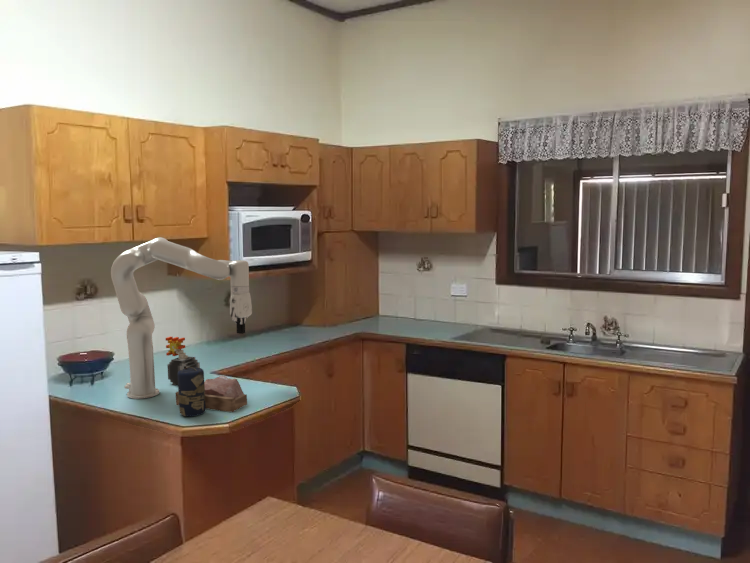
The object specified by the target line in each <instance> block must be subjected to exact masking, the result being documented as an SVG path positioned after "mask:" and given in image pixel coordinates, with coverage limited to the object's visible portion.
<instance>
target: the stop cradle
mask: <svg viewBox="0 0 750 563" xmlns="http://www.w3.org/2000/svg"><path fill="white" fill-rule="evenodd" d="M175 405H176V406H179V397H178V391H176V392H175ZM247 405H248V394H245V393H244V394H243V395H241V396H239V397H237V398H233V397H224V396H215V395H207V394H205V407H206V410H211V409H212V410H214V411H219V410H220V412H229V413H234V412H235V411H238V410H239V409H241V408H244V407H245V406H247Z"/></svg>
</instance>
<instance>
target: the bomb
mask: <svg viewBox="0 0 750 563" xmlns="http://www.w3.org/2000/svg"><path fill="white" fill-rule="evenodd" d="M185 340H186V337H178V336H176V337H173V336H167V337H165V341H167V344H166V345H165V348H166V349H169V350H167V352H166V354H165V355H166V356H167V357H168V356H171V355H172V357H177V356H178V357H177V358H173V359H171V360H170V361H169V363H167V364H166V366H167V380H169V381H170V383H172V386H178V375H177V374H178V371H179V370H181V369H185V368H187V367H192V368H201V365H200V363H201V362H198V359H196V357H195V356H189V355H187V353H186V352H184V349H185V348H186V345H185V344H183V343H184V341H185Z"/></svg>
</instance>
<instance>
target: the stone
mask: <svg viewBox="0 0 750 563" xmlns="http://www.w3.org/2000/svg"><path fill="white" fill-rule="evenodd" d="M204 384H205V394H207V395H215V396H224V397H233V398H237V397H239V396H241V395H243V394H245V393H244V391H243V389H242V387H241V384H240V382H239V381H238V379H236V378H229V377H226V376H223V375H219V376H218V377H215V378H207V379H204Z"/></svg>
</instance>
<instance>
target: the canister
mask: <svg viewBox="0 0 750 563" xmlns="http://www.w3.org/2000/svg"><path fill="white" fill-rule="evenodd" d="M177 375H178V385H177V388H178V389H177V390H178V391H177V392H178V397H179V405H178V407H179V414H180V415H181V416H184V417H196V416H200V415H202V414H204V413H205V412H206V410H207V409H206V407H205V384H204V382H205V371H204V369H203V368H202V367H200V368H192V367H187V368H185V369H181V370H179V371H178V374H177Z"/></svg>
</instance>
